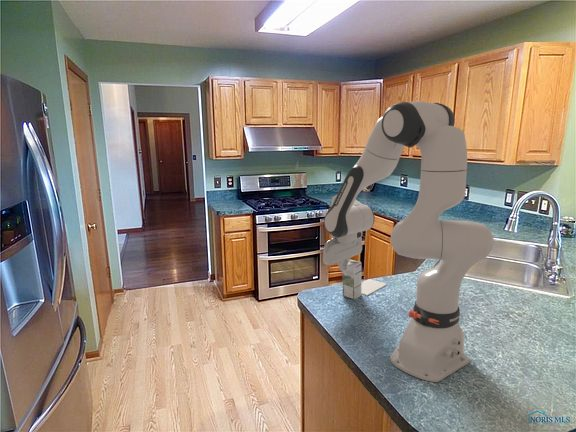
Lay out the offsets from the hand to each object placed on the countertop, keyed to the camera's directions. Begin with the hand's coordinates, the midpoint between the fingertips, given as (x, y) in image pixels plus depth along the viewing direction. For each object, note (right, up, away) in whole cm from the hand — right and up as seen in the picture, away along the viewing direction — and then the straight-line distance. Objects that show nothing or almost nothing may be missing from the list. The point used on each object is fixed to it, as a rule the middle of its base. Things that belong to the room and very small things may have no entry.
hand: (343, 270), depth 133 cm
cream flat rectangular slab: (+13, -10, +14) cm, 21 cm away
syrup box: (+5, -12, +6) cm, 14 cm away
